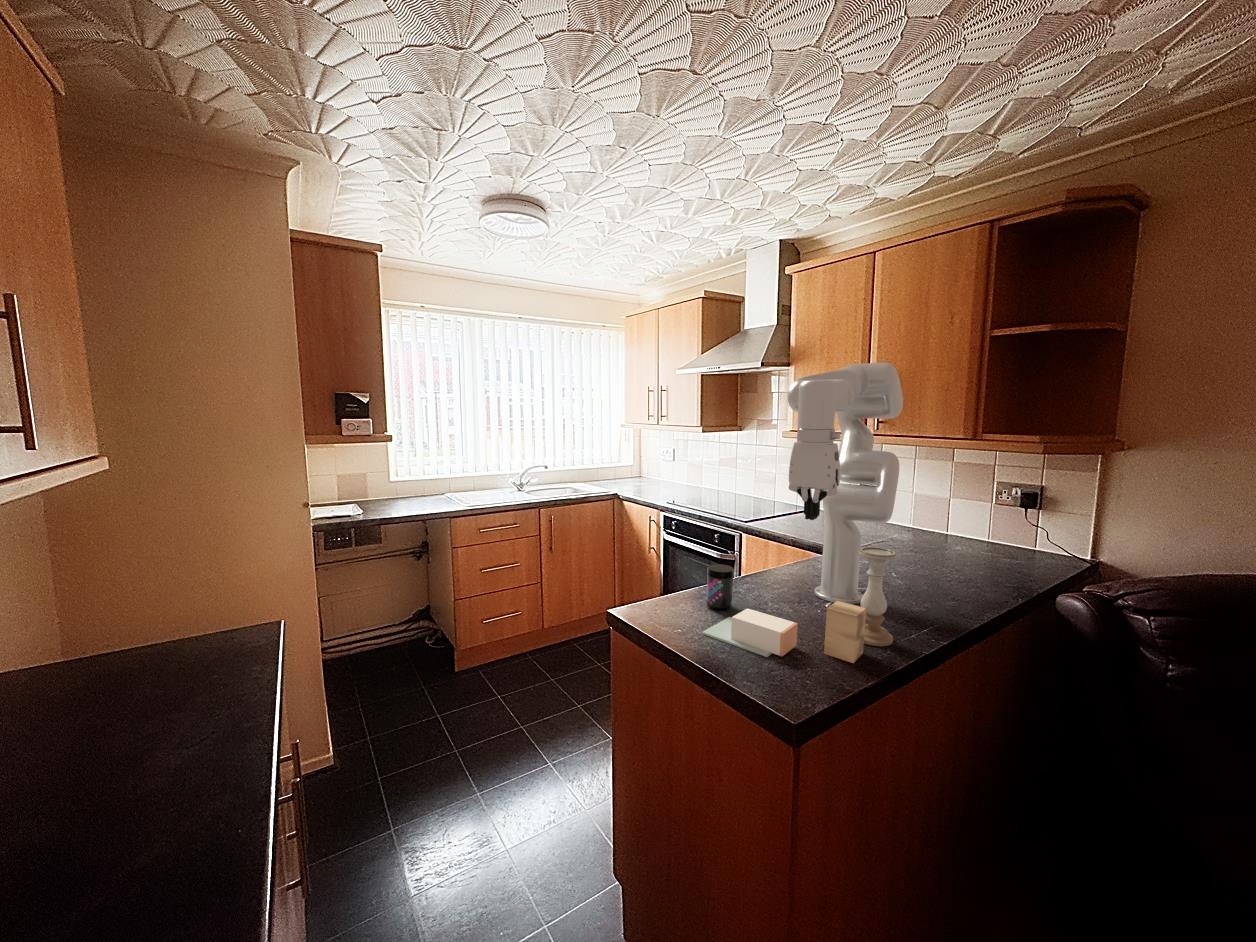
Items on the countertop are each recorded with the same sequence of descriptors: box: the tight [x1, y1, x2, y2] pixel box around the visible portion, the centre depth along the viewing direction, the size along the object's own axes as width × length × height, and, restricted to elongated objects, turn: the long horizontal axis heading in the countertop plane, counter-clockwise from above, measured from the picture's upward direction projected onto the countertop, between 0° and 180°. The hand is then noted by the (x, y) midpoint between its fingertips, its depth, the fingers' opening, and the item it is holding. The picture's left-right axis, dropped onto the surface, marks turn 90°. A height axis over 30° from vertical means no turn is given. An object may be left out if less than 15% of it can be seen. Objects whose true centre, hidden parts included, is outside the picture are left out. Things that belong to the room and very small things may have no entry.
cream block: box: [731, 608, 799, 657], centre depth 110 cm, size 7×5×12 cm
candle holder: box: [859, 546, 897, 647], centre depth 113 cm, size 9×9×20 cm
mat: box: [701, 616, 773, 658], centre depth 114 cm, size 12×16×1 cm
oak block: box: [823, 601, 866, 664], centre depth 106 cm, size 6×6×10 cm
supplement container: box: [706, 563, 735, 612], centre depth 131 cm, size 7×7×10 cm
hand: (811, 518), depth 113 cm, fingers closed
